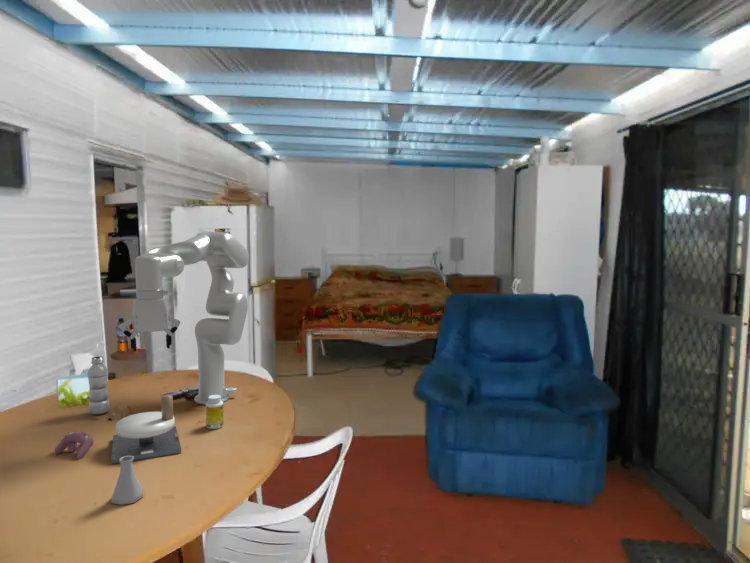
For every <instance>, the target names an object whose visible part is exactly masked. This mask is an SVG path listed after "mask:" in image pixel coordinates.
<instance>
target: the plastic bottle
mask: <svg viewBox="0 0 750 563" xmlns="http://www.w3.org/2000/svg"><path fill="white" fill-rule="evenodd" d="M104 363H105V358H104V356H93V357H91V364H92V365H91V366H90V367H89V369H88V371H87V379H88V384H89V403H88V410H89V413H90V414H91V415H102V414H106V413H107V412H109V410H110V406H111V402H110V400H109V395H108V380H109V378H108V377H109V370H108V368H107V366H106V365H105V364H104Z"/></svg>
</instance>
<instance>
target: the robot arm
mask: <svg viewBox="0 0 750 563" xmlns="http://www.w3.org/2000/svg"><path fill="white" fill-rule="evenodd" d="M204 259H205V262H206V263H207V266H208V269H209V271H210V274H211V283H210V286H209V292H208V294H207V299H206V304H205V311H206V313H208V314H209V315H211V316H215V318H213V317H207V318H202V319H199V321H198V322H196V324H195V326H194V335H195V339H196V340H195V341H196V344H197V346H196V347H197V356H198V357H197V358H198V359H197V364H198V365H197V366H198V372H197V373H198V394H197V395H195V396H194V399H193V400H194V402H195V403H196V404H199V405H206V403H207V402H208V397H209V396H211V395H220V396H221V401H222V402H223V403H224V402H227V401H228V400H229V398H230V394H237V393H238V388H237V387H233V386H230V387H226V385H225V352H224V349H223V347H222V345H223V346H224V345H228V346H234V345H236V344H238V343H239V342H240V340H241V339H242V336H243V331H244V328H245V323H246V322H245V321H246V319H247V313H248V309H249V308H248V307H249V304H248V298H247V297H246V295H244V294H243V293H240V292H233V290H234V285H235V281H234V280H235V279H234V277H233V275H232V274H231V271H229V269H243V268H245V267H246V266H248V263H249V260H250V255H249V252H248V250H247V248H246V246H244V245H243V244H242V243H241V241H239V240H238V239H237V238H236V237H235V236H233V235H232V234H231V233H229V232H222V231H219V232H217V231H213V232H212V231H206V232H202V233H199V234H197V235H195V236H193V237H190V238H188V239H186V240H183V241H179V242H175V243H170V244H167V245H161V246H158V247H155V248H153V249H150V250H148V251H145V252H144V253H143V254H141V255H139V256H137V257H136V258H135V260H134V267H135V289H136V290H135V292H136V293H135V294H136V295H135V296H136V297H135V298H136V299H134V300H133V303H132V313H131V314H132V317H131V318H130V319H128V320H127V321H124V322H123V323H121V324H120V325H119V328H120V330H121V331H122V333H123V334H124V335H125V336H126V337H127V338H129V339H130V349H132V350H133V353H135V352H137V339H136V336H138V334H139V333H151V332H163V331H164V332H165V333H166V335H165V342H166V344H165V345H166V346H165V348H167V349H170V348H171V346H172V345H173V343H172V336H173V334H174V333H176V332H177V330H178V328H179V326H180V324H181V321H180V320H179V319H176V318H174V317H171V316H169V312H168V306H167V301H166V298H164V297H165V296H168V295H169V293H168V290H164V289H163V288H164V287H163V285H164V284H163V278H174V277H177V276H180V275H181V274H182V273H183V271H184V268H185V266H189V265H194V264H197V263H199V262H201V261H202V260H204ZM218 317H227V318H218ZM169 322H171V323H173V326H172V327H171V328H169ZM130 325H132V331H131V332H130V331H129V330H128V329H127V327H128V326H130Z"/></svg>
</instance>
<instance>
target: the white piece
mask: <svg viewBox="0 0 750 563" xmlns="http://www.w3.org/2000/svg"><path fill="white" fill-rule="evenodd" d="M173 396H174V395H173V394H164V395H161V396H160V397H161V399H160V400H161V406H160V408H161V411H144V412H140V413H139V412H138V413H134V414H130V415H128V416H125V417H122V418H121V419H119V420H117V422H116V423H115V435H118V436H121V437H124V438H147V437H152V436H157V435H160V434H163V433H165V432H168V431H169V430H171V429H172V428H173V427H175V424H176V423H175V421H176V420H175V418H176V417H175V416H174V400H173V399H174V397H173Z"/></svg>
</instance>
